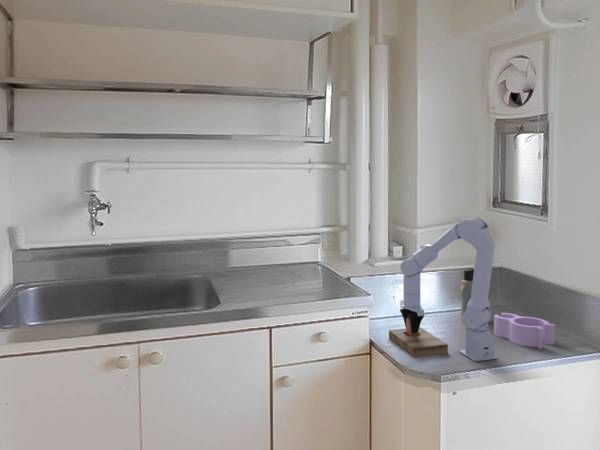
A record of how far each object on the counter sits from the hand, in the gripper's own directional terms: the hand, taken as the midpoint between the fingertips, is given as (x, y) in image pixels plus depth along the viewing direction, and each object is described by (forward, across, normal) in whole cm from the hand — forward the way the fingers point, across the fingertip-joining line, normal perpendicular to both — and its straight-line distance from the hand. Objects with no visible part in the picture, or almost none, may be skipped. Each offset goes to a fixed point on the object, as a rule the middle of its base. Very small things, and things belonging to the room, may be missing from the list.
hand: (411, 331), depth 189 cm
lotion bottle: (+4, -20, +34) cm, 40 cm away
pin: (+2, 0, 0) cm, 2 cm away
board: (+4, +4, 0) cm, 6 cm away
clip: (+4, +8, +38) cm, 39 cm away
